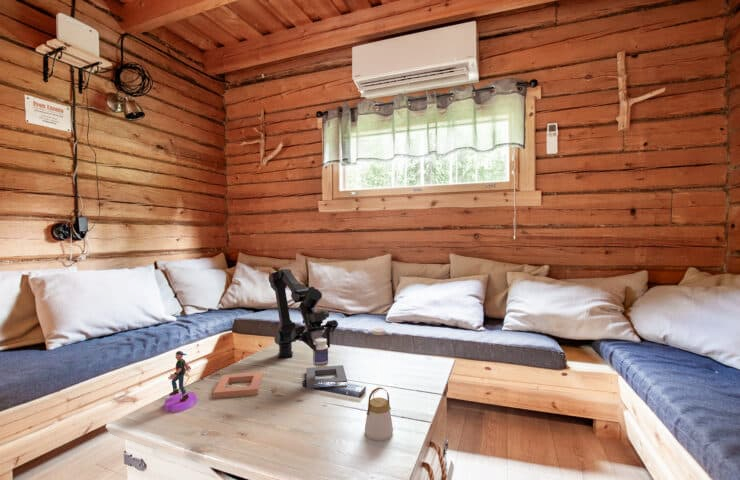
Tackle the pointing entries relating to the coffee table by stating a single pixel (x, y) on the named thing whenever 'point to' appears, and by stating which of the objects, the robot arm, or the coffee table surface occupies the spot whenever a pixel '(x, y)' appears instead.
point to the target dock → (223, 391)
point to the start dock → (324, 370)
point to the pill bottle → (320, 353)
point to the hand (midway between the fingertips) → (322, 349)
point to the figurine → (182, 399)
